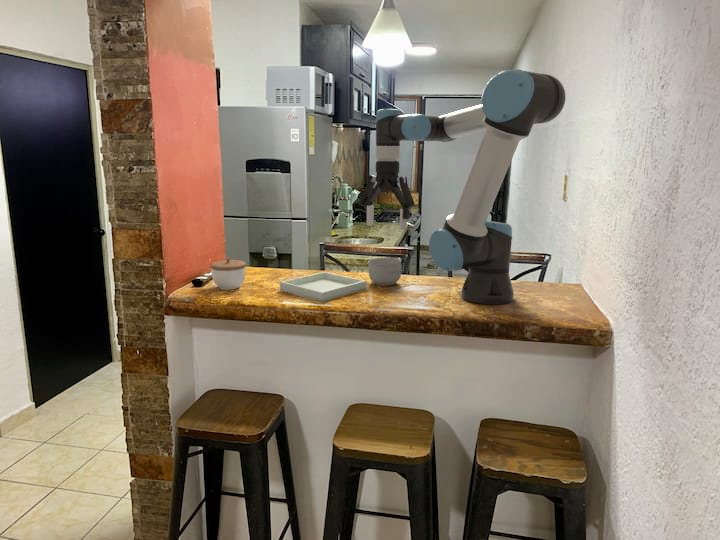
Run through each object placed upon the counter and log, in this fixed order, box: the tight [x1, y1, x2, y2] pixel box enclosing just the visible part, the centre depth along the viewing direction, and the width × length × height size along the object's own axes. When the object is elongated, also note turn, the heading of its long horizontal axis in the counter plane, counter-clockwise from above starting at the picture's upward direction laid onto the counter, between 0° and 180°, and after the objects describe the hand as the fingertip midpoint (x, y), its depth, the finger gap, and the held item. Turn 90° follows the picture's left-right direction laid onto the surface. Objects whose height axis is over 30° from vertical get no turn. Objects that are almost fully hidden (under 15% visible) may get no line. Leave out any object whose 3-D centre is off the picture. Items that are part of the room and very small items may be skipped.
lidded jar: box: [210, 257, 247, 291], centre depth 168 cm, size 11×11×9 cm
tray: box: [279, 271, 368, 303], centre depth 167 cm, size 19×20×3 cm
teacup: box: [367, 256, 402, 287], centre depth 177 cm, size 14×11×8 cm
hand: (386, 227), depth 173 cm, fingers open, 13 cm apart
